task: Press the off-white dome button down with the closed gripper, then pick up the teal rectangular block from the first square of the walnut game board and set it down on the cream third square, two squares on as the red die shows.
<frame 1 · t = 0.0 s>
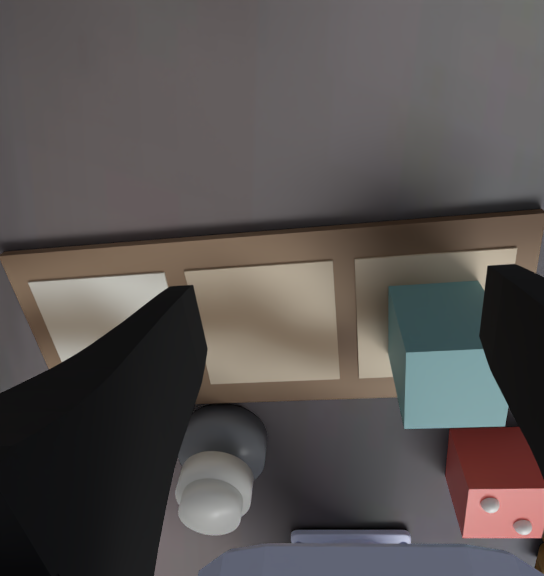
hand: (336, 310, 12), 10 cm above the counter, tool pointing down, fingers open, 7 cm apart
red die: (482, 452, 28), on the counter
game board: (267, 321, 25), on the counter
dome base: (226, 434, 29), on the counter
teal rectangular block: (430, 319, 23), point 1 cm above the counter, touching game board
dome: (213, 495, 25), point 4 cm above the counter, slide at 0.0 cm
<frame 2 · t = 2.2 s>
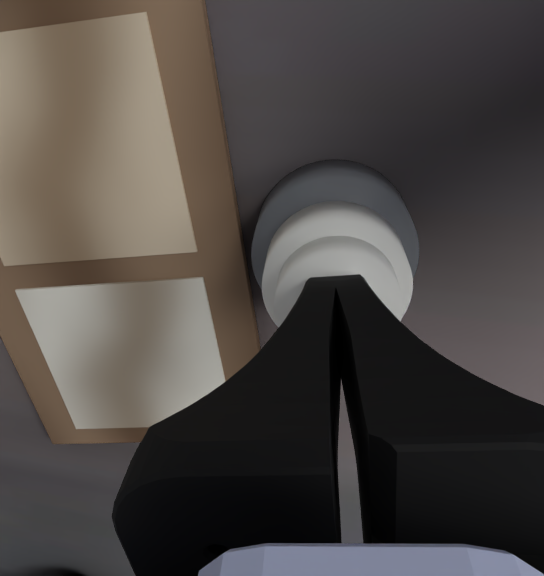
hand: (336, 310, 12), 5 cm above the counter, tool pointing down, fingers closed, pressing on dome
game board: (72, 152, 15), on the counter
dome base: (332, 234, 16), on the counter
dome: (335, 286, 13), point 3 cm above the counter, slide at 0.7 cm, touching gripper
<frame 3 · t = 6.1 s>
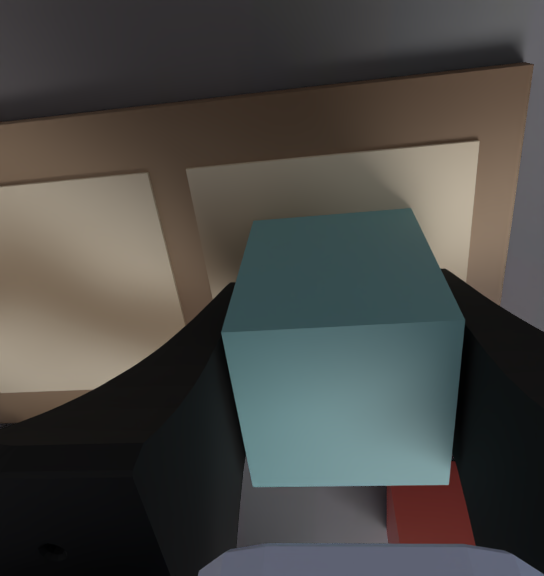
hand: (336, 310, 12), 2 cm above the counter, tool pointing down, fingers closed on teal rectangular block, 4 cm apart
red die: (440, 497, 18), on the counter
game board: (71, 289, 15), on the counter
teal rectangular block: (334, 282, 13), point 1 cm above the counter, touching game board, gripper
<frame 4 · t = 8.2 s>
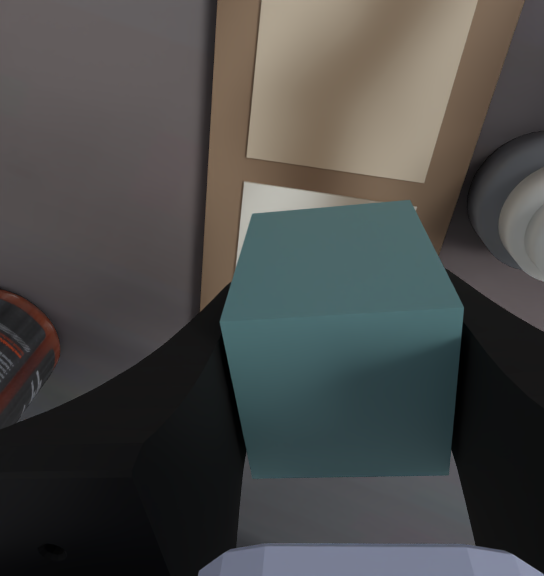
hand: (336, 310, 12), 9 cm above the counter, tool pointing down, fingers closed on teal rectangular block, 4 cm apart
game board: (352, 71, 17), on the counter
dome base: (532, 194, 19), on the counter
teal rectangular block: (333, 275, 13), point 8 cm above the counter, touching gripper
supplement bottle: (10, 329, 25), on the counter
when the fingers open (3 cm above the counter, at t = 10.4 s): teal rectangular block drops 1 cm, resting on game board.
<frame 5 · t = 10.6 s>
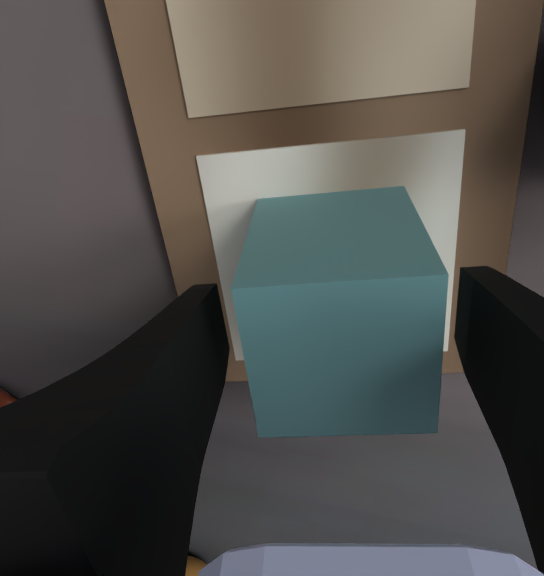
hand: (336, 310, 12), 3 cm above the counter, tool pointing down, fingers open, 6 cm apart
teal rectangular block: (333, 257, 14), point 1 cm above the counter, touching game board
figurine: (170, 558, 24), on the counter
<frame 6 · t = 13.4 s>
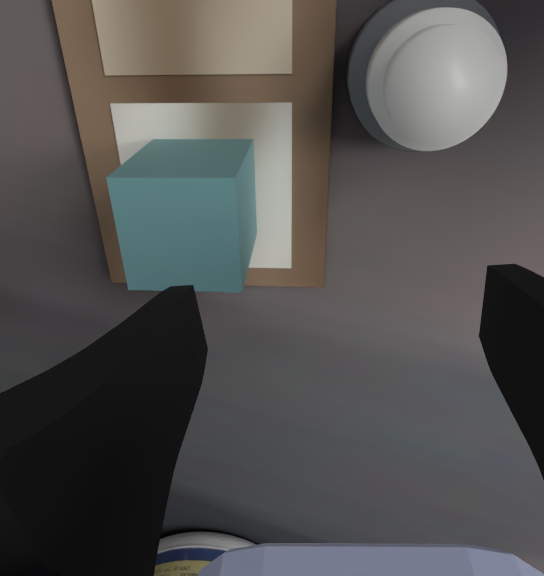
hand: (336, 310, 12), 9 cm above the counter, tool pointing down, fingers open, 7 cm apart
dome base: (415, 70, 18), on the counter
teal rectangular block: (207, 188, 20), point 1 cm above the counter, touching game board
supplement tub: (216, 571, 36), on the counter
dome: (435, 83, 15), point 3 cm above the counter, slide at 0.7 cm
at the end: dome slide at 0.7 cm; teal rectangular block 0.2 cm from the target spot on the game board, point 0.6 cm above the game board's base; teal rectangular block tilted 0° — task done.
